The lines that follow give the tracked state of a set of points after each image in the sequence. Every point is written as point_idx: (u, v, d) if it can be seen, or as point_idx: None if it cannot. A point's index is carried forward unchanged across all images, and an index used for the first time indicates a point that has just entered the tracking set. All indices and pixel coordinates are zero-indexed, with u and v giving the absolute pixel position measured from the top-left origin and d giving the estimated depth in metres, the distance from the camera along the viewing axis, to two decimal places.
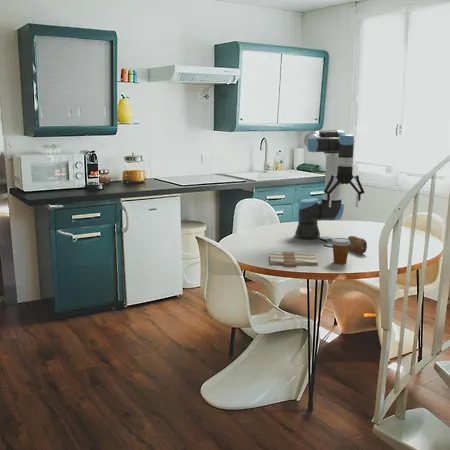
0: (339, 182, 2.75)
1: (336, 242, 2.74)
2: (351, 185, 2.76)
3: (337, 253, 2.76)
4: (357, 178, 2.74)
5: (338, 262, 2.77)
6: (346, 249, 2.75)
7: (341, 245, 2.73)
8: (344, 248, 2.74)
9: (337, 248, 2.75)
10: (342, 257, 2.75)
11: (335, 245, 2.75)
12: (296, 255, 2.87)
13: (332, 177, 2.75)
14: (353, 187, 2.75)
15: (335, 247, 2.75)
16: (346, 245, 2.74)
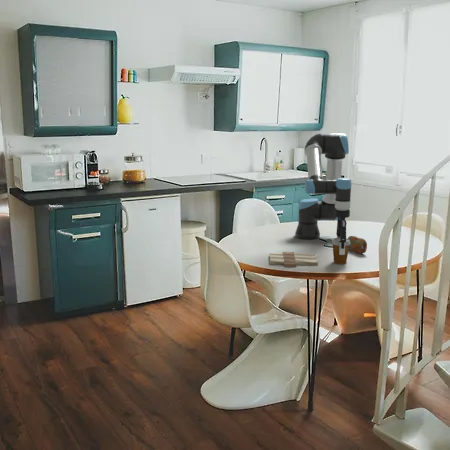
0: (337, 224, 2.78)
1: (336, 242, 2.74)
2: None
3: (337, 252, 2.76)
4: (341, 225, 2.69)
5: (338, 262, 2.77)
6: (346, 249, 2.75)
7: None
8: None
9: (337, 248, 2.75)
10: (342, 257, 2.75)
11: (335, 245, 2.75)
12: (296, 255, 2.87)
13: (337, 219, 2.81)
14: (339, 232, 2.73)
15: (335, 247, 2.75)
16: (346, 245, 2.74)
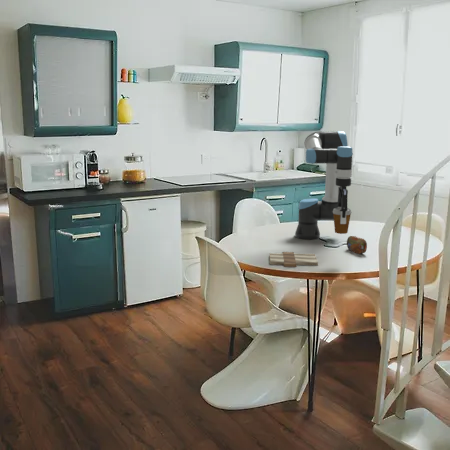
0: (338, 194, 2.74)
1: (337, 211, 2.71)
2: None
3: (338, 222, 2.72)
4: (342, 193, 2.66)
5: (339, 232, 2.73)
6: (347, 218, 2.71)
7: None
8: None
9: (338, 217, 2.71)
10: (343, 226, 2.72)
11: (336, 214, 2.71)
12: (296, 255, 2.87)
13: (338, 188, 2.78)
14: (341, 201, 2.69)
15: (336, 216, 2.72)
16: (347, 214, 2.70)
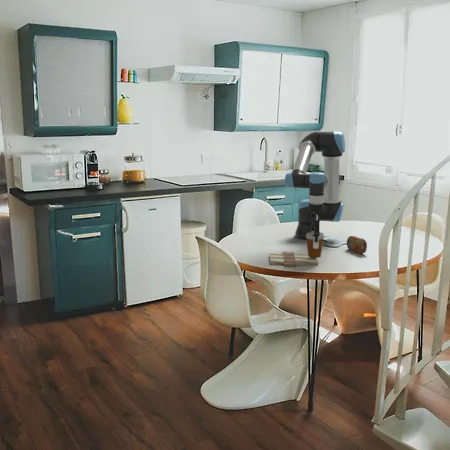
0: (311, 218, 2.80)
1: (310, 236, 2.76)
2: None
3: (311, 246, 2.78)
4: (314, 219, 2.72)
5: (312, 256, 2.79)
6: (320, 243, 2.77)
7: None
8: None
9: (311, 242, 2.77)
10: (316, 251, 2.78)
11: (309, 239, 2.77)
12: (296, 255, 2.87)
13: (312, 213, 2.83)
14: None
15: (309, 241, 2.78)
16: (320, 239, 2.76)
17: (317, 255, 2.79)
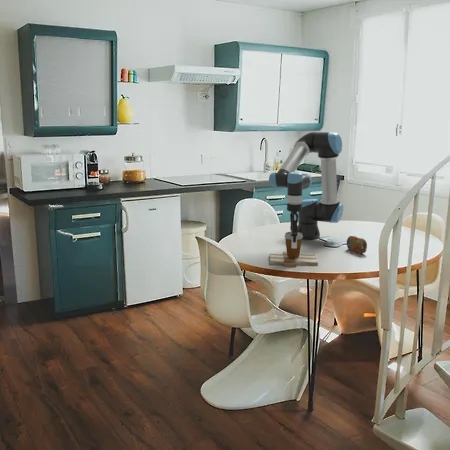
0: (290, 218, 2.81)
1: (288, 236, 2.77)
2: None
3: (289, 246, 2.78)
4: (292, 219, 2.72)
5: (291, 256, 2.80)
6: (298, 243, 2.78)
7: None
8: None
9: (289, 242, 2.78)
10: (294, 250, 2.78)
11: (287, 239, 2.78)
12: None
13: (291, 213, 2.84)
14: None
15: (287, 241, 2.78)
16: (298, 239, 2.77)
17: (296, 255, 2.79)
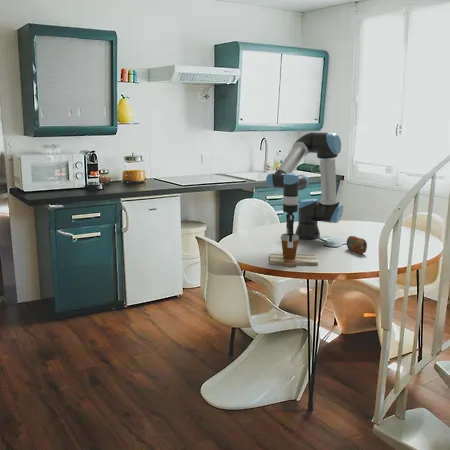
0: (286, 218, 2.81)
1: (284, 237, 2.77)
2: None
3: (285, 248, 2.79)
4: (288, 218, 2.72)
5: (287, 257, 2.80)
6: (294, 244, 2.78)
7: None
8: None
9: (285, 243, 2.78)
10: (290, 252, 2.79)
11: (283, 240, 2.78)
12: (296, 255, 2.87)
13: (287, 212, 2.84)
14: None
15: (283, 242, 2.79)
16: (294, 240, 2.77)
17: (292, 256, 2.80)
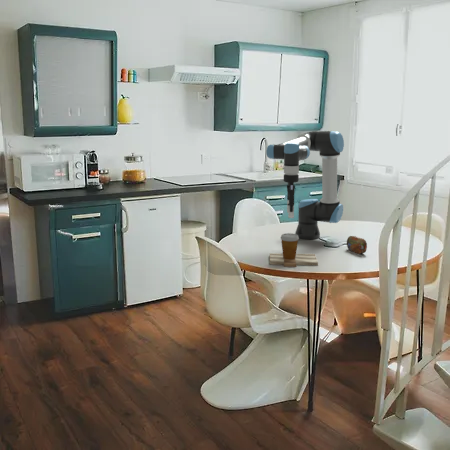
0: (287, 189, 2.78)
1: (284, 237, 2.77)
2: None
3: (285, 248, 2.79)
4: (289, 188, 2.69)
5: (287, 257, 2.80)
6: (294, 244, 2.78)
7: (289, 241, 2.77)
8: (292, 243, 2.77)
9: (285, 243, 2.78)
10: (290, 252, 2.79)
11: (283, 240, 2.78)
12: (296, 255, 2.87)
13: None
14: None
15: (283, 242, 2.79)
16: (294, 240, 2.77)
17: (292, 256, 2.80)
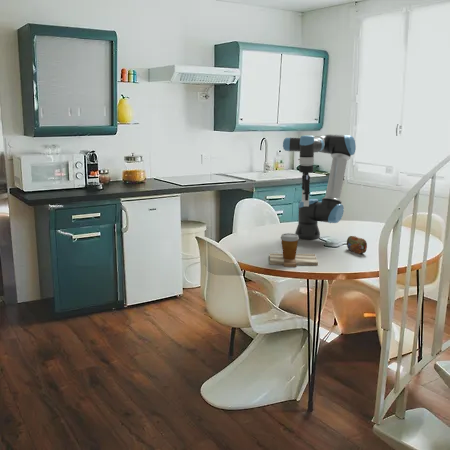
0: (302, 179, 2.94)
1: (284, 237, 2.77)
2: None
3: (285, 248, 2.79)
4: (304, 178, 2.85)
5: (287, 257, 2.80)
6: (294, 244, 2.78)
7: (289, 241, 2.77)
8: (292, 243, 2.77)
9: (285, 243, 2.78)
10: (290, 252, 2.79)
11: (283, 240, 2.78)
12: (296, 255, 2.87)
13: None
14: (304, 186, 2.88)
15: (283, 242, 2.79)
16: (294, 240, 2.77)
17: (292, 256, 2.80)
